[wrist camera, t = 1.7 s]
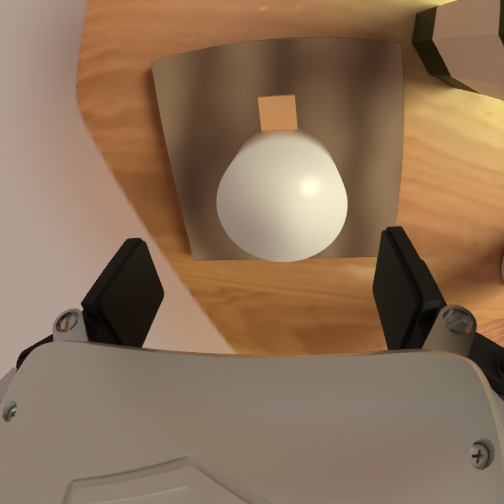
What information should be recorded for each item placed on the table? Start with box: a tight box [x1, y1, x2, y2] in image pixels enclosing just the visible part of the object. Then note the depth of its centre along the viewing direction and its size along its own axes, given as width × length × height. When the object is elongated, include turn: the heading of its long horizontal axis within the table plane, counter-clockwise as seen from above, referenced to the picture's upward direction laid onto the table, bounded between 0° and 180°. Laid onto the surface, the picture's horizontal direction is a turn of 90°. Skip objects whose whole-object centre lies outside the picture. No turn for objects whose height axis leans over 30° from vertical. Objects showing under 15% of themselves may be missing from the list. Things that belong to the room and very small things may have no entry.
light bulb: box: [216, 94, 348, 262], centre depth 17 cm, size 7×9×5 cm
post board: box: [151, 37, 404, 261], centre depth 22 cm, size 20×20×6 cm
